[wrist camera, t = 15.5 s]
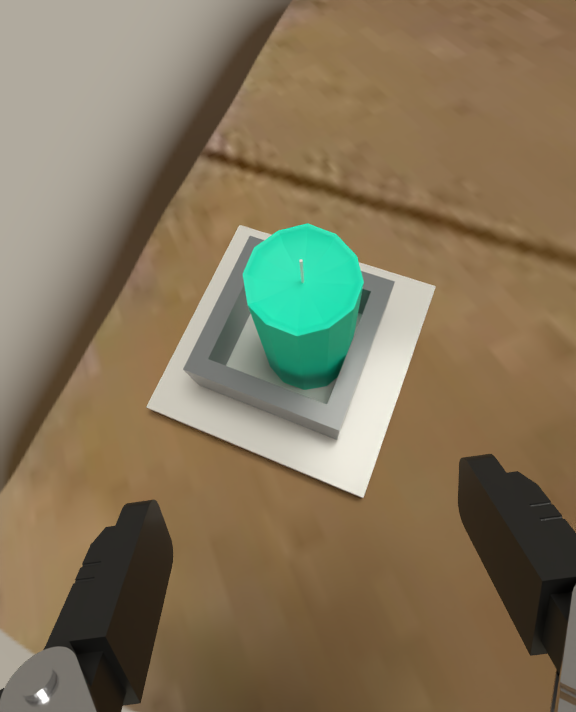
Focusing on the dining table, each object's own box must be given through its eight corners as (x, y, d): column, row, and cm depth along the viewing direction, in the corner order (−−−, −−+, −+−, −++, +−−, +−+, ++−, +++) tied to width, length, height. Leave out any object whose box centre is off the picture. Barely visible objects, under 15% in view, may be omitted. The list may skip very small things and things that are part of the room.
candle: (271, 308, 33) (245, 203, 21) (353, 313, 32) (370, 208, 21) (262, 386, 31) (227, 316, 19) (348, 393, 30) (364, 325, 19)
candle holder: (242, 233, 36) (230, 193, 32) (431, 293, 33) (449, 258, 29) (152, 410, 32) (123, 394, 27) (361, 498, 29) (369, 496, 24)
